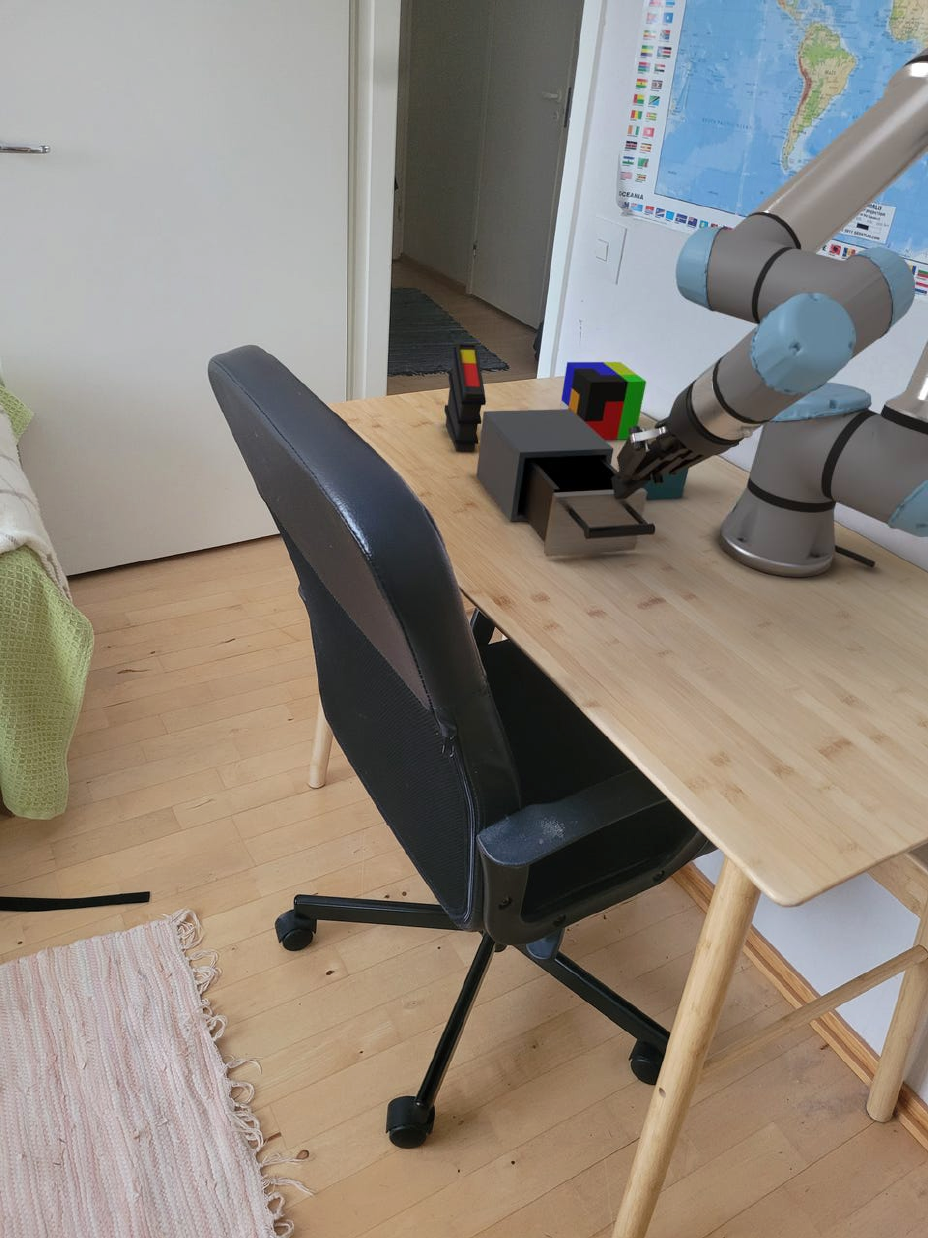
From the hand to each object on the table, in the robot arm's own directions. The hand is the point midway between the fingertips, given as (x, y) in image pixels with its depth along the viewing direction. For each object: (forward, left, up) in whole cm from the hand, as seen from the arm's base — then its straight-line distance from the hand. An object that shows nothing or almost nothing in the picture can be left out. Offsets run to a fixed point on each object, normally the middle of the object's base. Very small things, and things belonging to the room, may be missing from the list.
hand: (618, 488), depth 115 cm
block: (-3, -29, -12) cm, 32 cm away
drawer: (+4, -5, -11) cm, 13 cm away
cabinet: (+13, -18, -12) cm, 25 cm away
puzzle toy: (+10, -50, -12) cm, 52 cm away
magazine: (+29, -32, -12) cm, 45 cm away
